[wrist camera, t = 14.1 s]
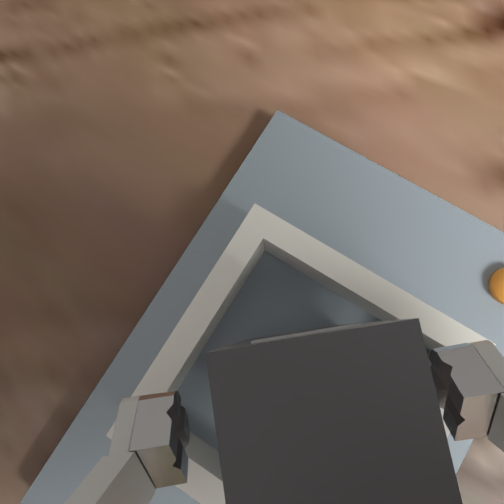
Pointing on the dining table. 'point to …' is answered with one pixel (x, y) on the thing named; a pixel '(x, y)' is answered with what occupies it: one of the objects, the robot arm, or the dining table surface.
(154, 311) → the socket base
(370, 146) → the dining table surface
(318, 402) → the plug
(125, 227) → the dining table surface
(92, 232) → the dining table surface
